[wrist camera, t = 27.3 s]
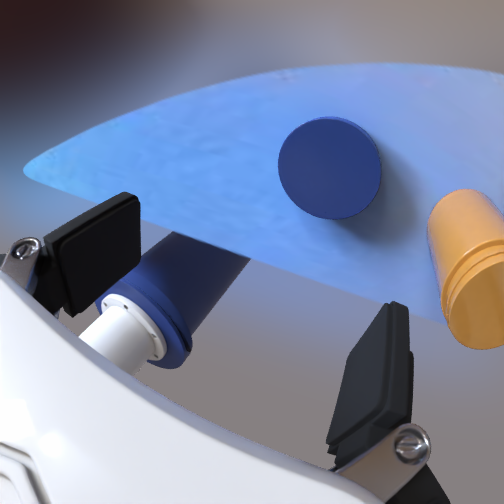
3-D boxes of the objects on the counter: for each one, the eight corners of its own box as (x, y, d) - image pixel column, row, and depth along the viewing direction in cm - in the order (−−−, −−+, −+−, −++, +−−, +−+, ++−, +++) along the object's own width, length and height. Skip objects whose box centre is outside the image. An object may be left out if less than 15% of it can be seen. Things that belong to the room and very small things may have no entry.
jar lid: (353, 227, 21) (351, 237, 19) (272, 185, 22) (264, 192, 20) (397, 146, 16) (399, 150, 15) (305, 100, 17) (298, 101, 16)
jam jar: (474, 277, 18) (498, 363, 11) (413, 247, 19) (420, 334, 12) (511, 211, 14) (564, 282, 7) (447, 173, 16) (489, 231, 9)
